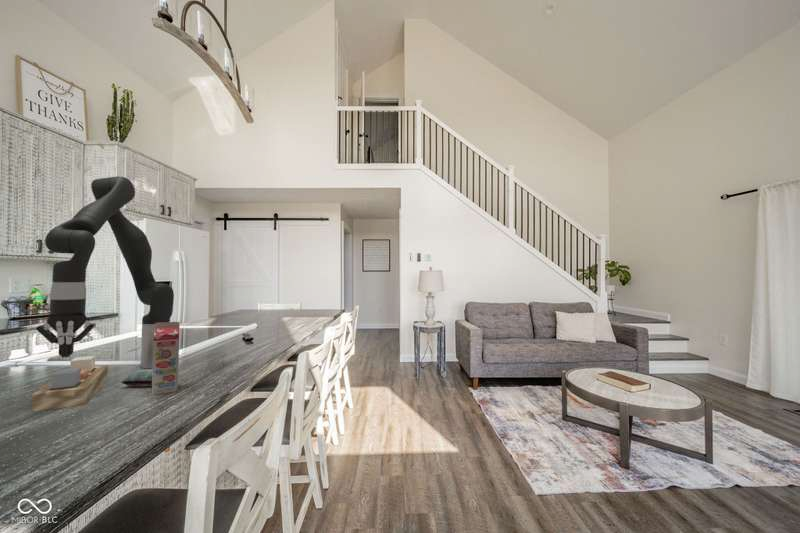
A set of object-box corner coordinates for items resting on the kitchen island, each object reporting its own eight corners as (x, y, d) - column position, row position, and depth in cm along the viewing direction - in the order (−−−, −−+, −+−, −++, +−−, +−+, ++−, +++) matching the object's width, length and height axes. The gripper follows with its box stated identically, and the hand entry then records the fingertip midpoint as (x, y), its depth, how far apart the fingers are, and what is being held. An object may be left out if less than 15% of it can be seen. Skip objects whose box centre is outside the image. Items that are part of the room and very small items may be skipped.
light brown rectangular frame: (107, 378, 120) (107, 365, 120) (85, 404, 98) (86, 388, 98) (65, 383, 115) (65, 369, 115) (31, 411, 92) (32, 394, 92)
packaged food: (137, 380, 120) (137, 366, 120) (173, 380, 121) (173, 366, 121) (119, 389, 111) (120, 374, 111) (158, 388, 112) (159, 373, 112)
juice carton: (153, 388, 112) (155, 321, 112) (177, 385, 115) (179, 320, 116) (151, 394, 106) (153, 324, 107) (177, 391, 110) (179, 323, 110)
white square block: (94, 367, 117) (95, 355, 117) (90, 371, 112) (91, 359, 112) (75, 369, 114) (75, 357, 114) (70, 373, 110) (70, 360, 110)
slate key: (80, 381, 103) (80, 367, 103) (75, 386, 99) (75, 372, 99) (57, 383, 100) (58, 369, 100) (51, 388, 96) (51, 374, 96)
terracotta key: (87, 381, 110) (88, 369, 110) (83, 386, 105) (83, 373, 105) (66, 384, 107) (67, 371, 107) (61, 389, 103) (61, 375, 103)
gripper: (101, 296, 106) (98, 352, 106) (42, 296, 100) (39, 356, 99) (94, 298, 100) (91, 357, 99) (31, 298, 93) (28, 362, 93)
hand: (65, 356), depth 99 cm, fingers closed
